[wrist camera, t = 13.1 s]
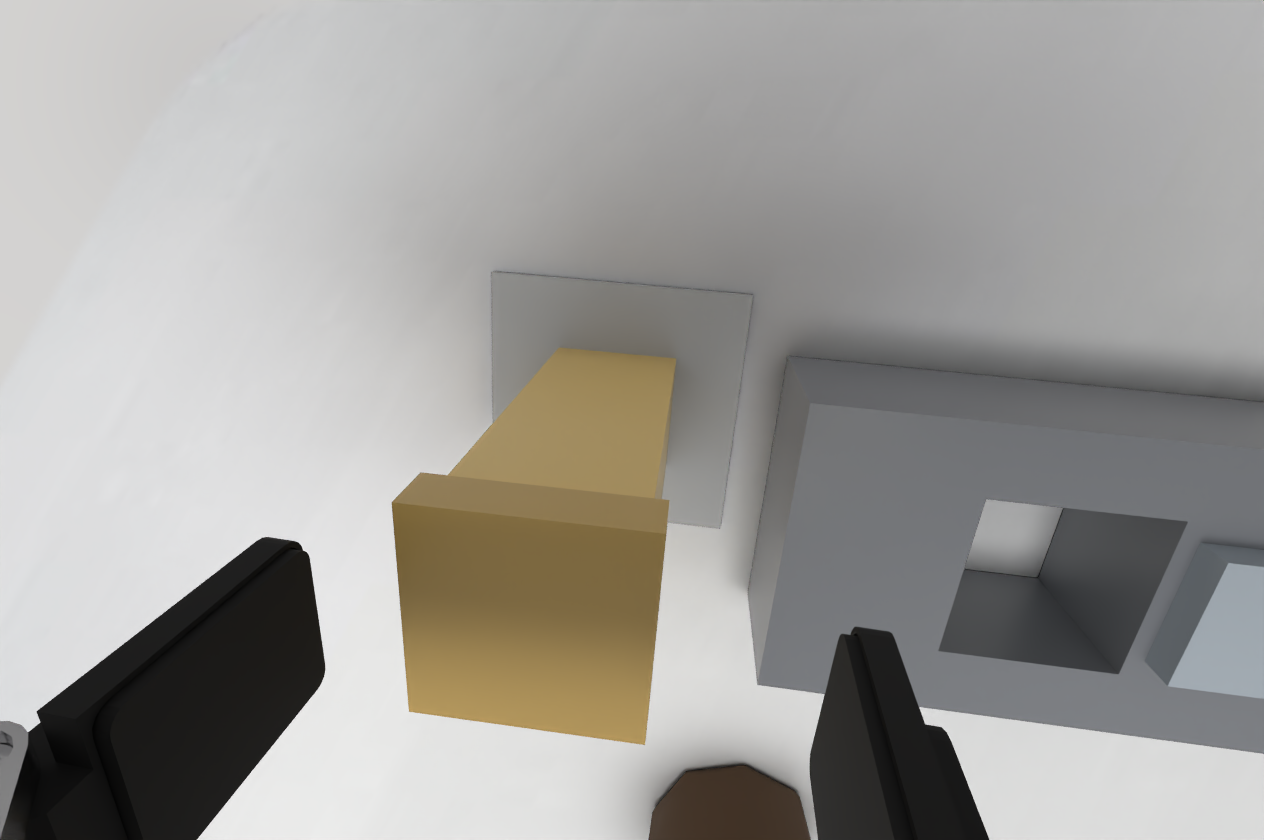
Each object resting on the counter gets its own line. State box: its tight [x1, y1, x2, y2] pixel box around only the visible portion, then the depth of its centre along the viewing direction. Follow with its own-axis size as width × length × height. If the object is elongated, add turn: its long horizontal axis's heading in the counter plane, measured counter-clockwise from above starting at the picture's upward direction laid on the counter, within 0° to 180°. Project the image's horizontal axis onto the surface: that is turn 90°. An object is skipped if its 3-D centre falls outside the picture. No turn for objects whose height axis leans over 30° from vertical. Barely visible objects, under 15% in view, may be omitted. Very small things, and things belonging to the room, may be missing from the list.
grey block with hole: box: [748, 356, 1264, 754], centre depth 20 cm, size 16×10×6 cm, turn 86°
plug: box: [392, 348, 676, 745], centre depth 17 cm, size 5×5×12 cm
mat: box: [491, 271, 753, 529], centre depth 23 cm, size 9×9×1 cm
